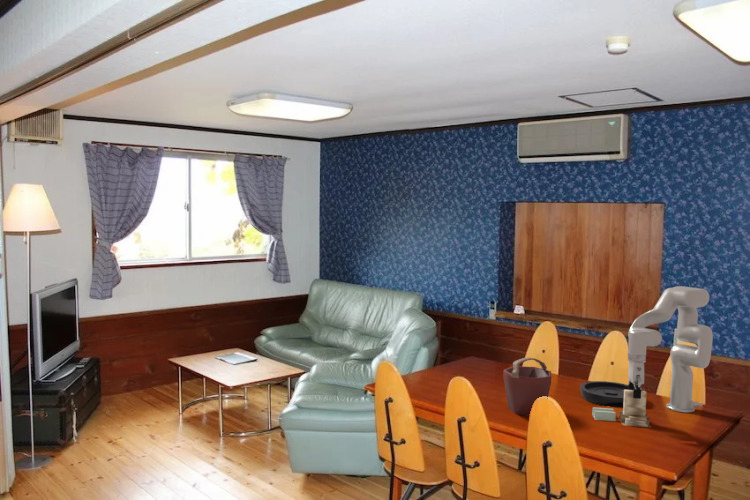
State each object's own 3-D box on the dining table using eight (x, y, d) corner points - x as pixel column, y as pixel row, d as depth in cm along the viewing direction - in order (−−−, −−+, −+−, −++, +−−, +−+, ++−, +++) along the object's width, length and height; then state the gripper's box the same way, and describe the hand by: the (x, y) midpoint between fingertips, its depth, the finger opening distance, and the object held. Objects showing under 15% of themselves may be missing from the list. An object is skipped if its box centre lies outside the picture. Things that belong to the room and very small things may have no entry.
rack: (645, 422, 286) (646, 412, 286) (651, 429, 276) (651, 419, 276) (618, 420, 288) (618, 410, 288) (622, 427, 278) (623, 417, 278)
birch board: (643, 421, 284) (645, 390, 283) (644, 423, 282) (646, 392, 281) (622, 419, 286) (624, 389, 285) (623, 421, 283) (625, 391, 282)
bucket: (518, 420, 285) (520, 366, 283) (491, 405, 305) (492, 355, 304) (561, 414, 295) (563, 361, 293) (532, 400, 315) (534, 351, 313)
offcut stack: (645, 424, 280) (646, 416, 280) (647, 426, 277) (648, 419, 277) (624, 422, 281) (625, 415, 281) (626, 425, 278) (626, 417, 278)
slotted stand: (612, 417, 291) (612, 408, 291) (615, 423, 284) (616, 413, 283) (591, 416, 293) (592, 406, 293) (594, 421, 285) (595, 412, 285)
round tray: (583, 406, 308) (648, 411, 302) (584, 394, 308) (649, 399, 302) (576, 389, 338) (635, 393, 332) (577, 378, 337) (636, 382, 331)
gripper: (650, 362, 272) (648, 401, 273) (640, 354, 289) (638, 390, 290) (632, 361, 274) (629, 399, 275) (623, 353, 291) (621, 389, 292)
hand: (634, 395), depth 282 cm, fingers open, 9 cm apart
